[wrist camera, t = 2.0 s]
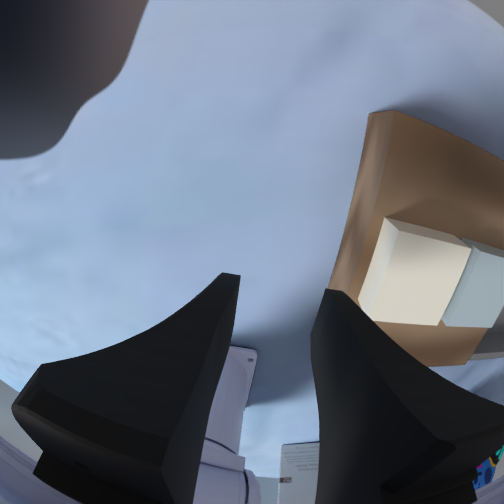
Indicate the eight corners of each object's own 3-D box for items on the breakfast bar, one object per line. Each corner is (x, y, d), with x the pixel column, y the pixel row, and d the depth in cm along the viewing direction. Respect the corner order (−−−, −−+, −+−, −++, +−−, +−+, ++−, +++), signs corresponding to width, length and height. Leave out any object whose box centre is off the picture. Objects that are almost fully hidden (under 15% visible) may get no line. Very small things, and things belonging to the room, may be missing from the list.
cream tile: (424, 306, 15) (437, 325, 14) (357, 299, 15) (366, 319, 14) (453, 234, 13) (471, 248, 11) (384, 217, 13) (399, 230, 12)
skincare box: (326, 440, 29) (331, 521, 18) (325, 452, 31) (329, 526, 20) (278, 444, 30) (274, 525, 19) (281, 456, 32) (278, 529, 21)
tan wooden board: (447, 336, 21) (465, 364, 18) (314, 327, 21) (320, 363, 18) (510, 174, 15) (542, 187, 11) (369, 113, 15) (394, 110, 11)
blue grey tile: (478, 311, 15) (491, 327, 13) (433, 307, 15) (446, 326, 14) (506, 250, 13) (522, 263, 11) (462, 237, 13) (480, 251, 11)
